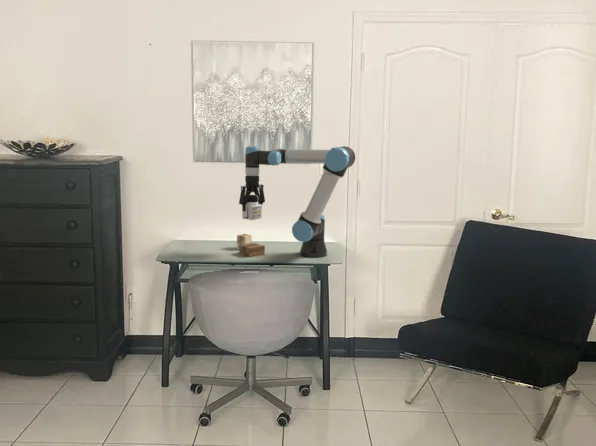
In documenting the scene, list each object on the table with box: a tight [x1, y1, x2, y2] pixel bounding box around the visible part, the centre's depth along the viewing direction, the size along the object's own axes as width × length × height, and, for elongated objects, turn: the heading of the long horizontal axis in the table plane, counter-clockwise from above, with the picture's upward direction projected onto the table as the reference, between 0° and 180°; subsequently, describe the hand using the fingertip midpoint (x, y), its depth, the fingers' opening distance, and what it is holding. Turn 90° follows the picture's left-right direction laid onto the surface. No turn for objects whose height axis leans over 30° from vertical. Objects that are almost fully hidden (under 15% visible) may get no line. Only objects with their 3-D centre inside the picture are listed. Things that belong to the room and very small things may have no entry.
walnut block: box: [238, 242, 266, 258], centre depth 353 cm, size 10×10×5 cm
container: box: [241, 194, 263, 221], centre depth 349 cm, size 8×8×13 cm
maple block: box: [236, 233, 253, 250], centre depth 366 cm, size 6×6×8 cm
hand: (252, 216), depth 350 cm, fingers closed on container, 8 cm apart
